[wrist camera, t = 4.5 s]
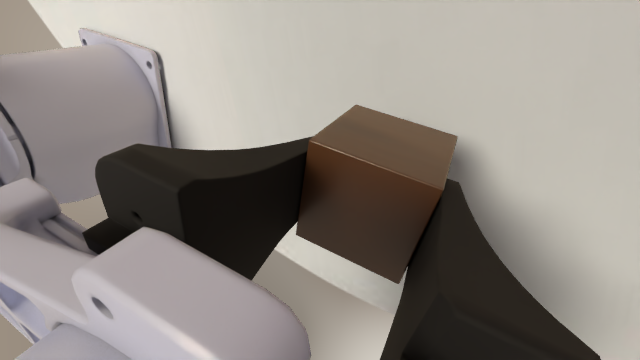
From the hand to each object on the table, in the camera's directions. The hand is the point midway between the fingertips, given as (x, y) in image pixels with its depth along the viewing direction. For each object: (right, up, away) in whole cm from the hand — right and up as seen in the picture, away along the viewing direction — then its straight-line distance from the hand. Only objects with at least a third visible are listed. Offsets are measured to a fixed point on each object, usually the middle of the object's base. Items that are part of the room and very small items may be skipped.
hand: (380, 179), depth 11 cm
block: (+1, +1, +1) cm, 1 cm away
